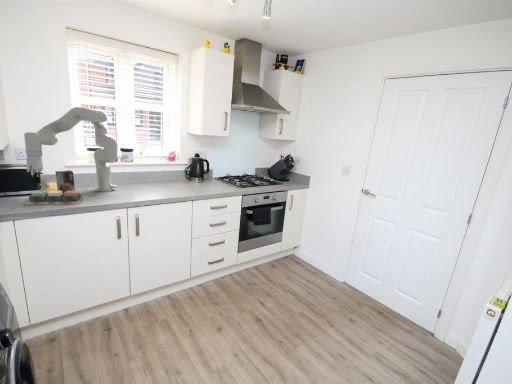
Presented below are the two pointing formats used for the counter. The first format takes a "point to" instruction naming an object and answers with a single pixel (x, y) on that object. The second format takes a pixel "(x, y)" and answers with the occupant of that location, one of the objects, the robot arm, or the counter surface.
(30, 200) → the button panel
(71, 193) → the terracotta button
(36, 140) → the robot arm
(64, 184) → the coffee box
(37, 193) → the sage button
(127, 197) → the counter surface
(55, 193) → the cream button
